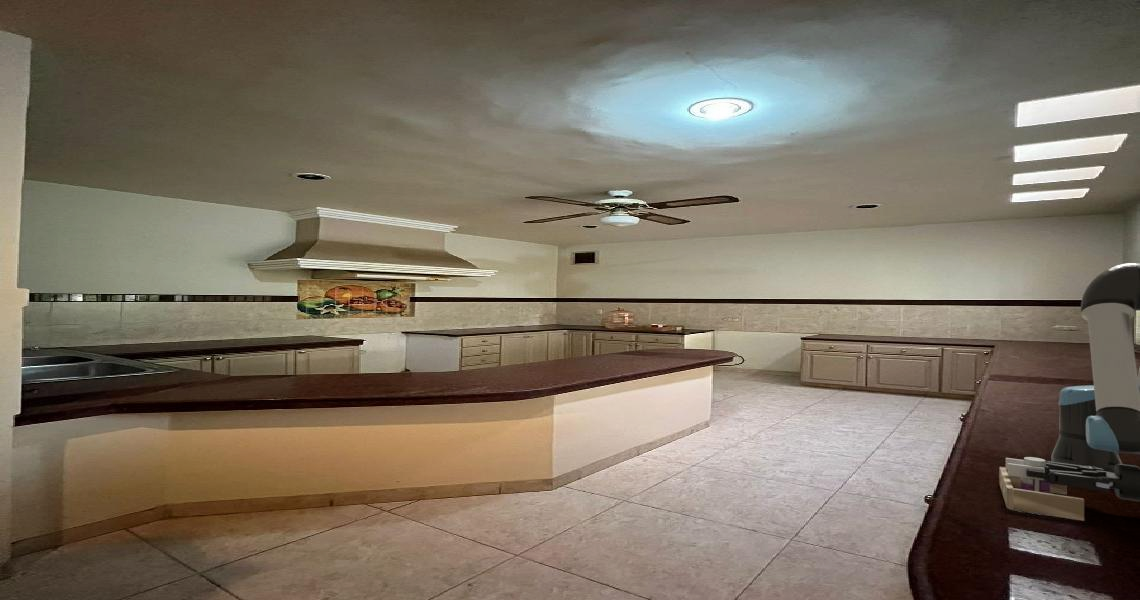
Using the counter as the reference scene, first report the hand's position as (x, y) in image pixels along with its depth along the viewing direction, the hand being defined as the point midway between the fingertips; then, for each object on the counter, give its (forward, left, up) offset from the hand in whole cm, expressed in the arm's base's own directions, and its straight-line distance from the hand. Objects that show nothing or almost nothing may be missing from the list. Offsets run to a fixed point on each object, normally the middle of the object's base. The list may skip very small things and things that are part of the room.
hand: (1007, 466), depth 137 cm
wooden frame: (0, +6, -7) cm, 9 cm away
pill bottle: (0, +5, -7) cm, 9 cm away
